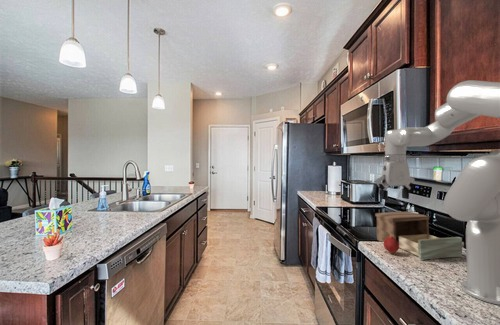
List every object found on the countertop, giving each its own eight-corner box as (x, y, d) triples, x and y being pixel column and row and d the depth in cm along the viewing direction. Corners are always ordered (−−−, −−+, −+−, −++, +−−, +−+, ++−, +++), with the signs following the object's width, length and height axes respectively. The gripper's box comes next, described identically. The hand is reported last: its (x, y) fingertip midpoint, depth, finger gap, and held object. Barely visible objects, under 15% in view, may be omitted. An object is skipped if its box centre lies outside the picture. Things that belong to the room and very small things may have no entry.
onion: (386, 250, 107) (386, 232, 107) (401, 253, 103) (400, 234, 103) (381, 253, 103) (381, 235, 103) (396, 257, 99) (396, 237, 99)
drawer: (462, 256, 97) (461, 237, 97) (421, 259, 95) (420, 240, 95) (430, 244, 112) (430, 228, 112) (394, 247, 109) (394, 230, 109)
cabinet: (429, 245, 112) (428, 216, 112) (393, 247, 110) (392, 218, 110) (409, 237, 125) (408, 211, 125) (376, 239, 122) (375, 213, 122)
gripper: (382, 159, 97) (382, 201, 97) (421, 158, 99) (420, 199, 99) (370, 159, 104) (370, 198, 105) (407, 158, 106) (406, 196, 107)
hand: (395, 198), depth 102 cm, fingers open, 9 cm apart
